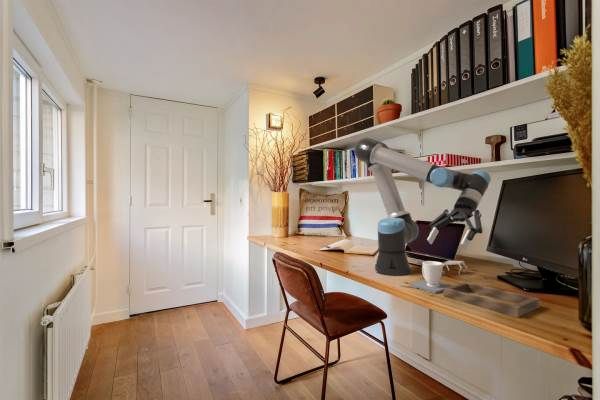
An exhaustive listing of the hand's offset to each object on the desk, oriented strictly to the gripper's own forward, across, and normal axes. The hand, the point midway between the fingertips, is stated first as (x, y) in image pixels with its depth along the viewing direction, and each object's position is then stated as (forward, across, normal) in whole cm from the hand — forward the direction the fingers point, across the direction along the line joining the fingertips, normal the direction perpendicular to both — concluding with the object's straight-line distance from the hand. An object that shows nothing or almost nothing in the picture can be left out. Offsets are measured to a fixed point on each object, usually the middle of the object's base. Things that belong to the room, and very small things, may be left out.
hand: (445, 244), depth 108 cm
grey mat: (+16, 0, -4) cm, 17 cm away
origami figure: (0, +8, -22) cm, 23 cm away
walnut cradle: (+15, -19, -5) cm, 25 cm away
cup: (+16, +1, -4) cm, 16 cm away
